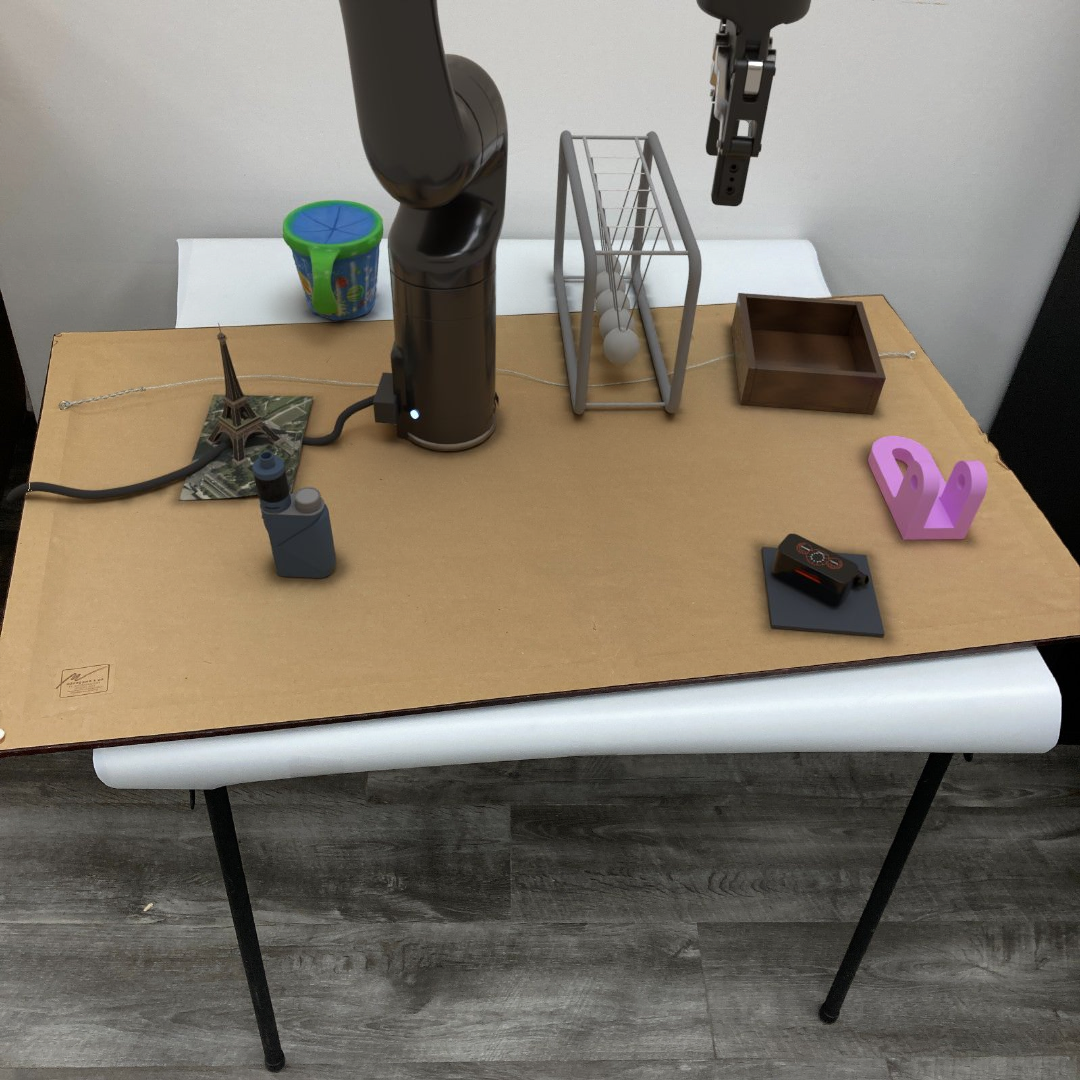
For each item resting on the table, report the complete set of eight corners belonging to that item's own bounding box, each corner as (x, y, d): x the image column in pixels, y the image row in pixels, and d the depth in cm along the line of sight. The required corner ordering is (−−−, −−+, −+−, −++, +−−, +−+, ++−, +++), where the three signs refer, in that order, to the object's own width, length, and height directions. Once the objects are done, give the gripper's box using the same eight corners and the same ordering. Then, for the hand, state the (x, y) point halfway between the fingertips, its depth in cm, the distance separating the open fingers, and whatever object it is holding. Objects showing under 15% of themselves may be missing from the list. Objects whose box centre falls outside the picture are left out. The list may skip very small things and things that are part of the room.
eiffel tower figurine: (294, 499, 87) (271, 375, 78) (178, 500, 87) (141, 375, 78) (313, 399, 98) (295, 279, 89) (211, 399, 98) (181, 279, 88)
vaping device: (277, 555, 82) (253, 443, 74) (339, 558, 82) (322, 447, 74) (270, 577, 81) (245, 465, 72) (334, 580, 81) (316, 469, 72)
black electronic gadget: (845, 617, 79) (856, 590, 77) (767, 576, 82) (775, 549, 80) (869, 585, 82) (879, 557, 80) (792, 546, 85) (800, 519, 83)
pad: (771, 628, 79) (772, 624, 78) (761, 549, 85) (762, 546, 85) (883, 637, 78) (884, 633, 78) (865, 557, 85) (866, 554, 85)
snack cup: (369, 348, 105) (360, 262, 98) (274, 337, 106) (258, 250, 99) (404, 276, 116) (399, 194, 109) (318, 267, 117) (307, 184, 110)
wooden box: (740, 404, 100) (748, 367, 97) (731, 327, 111) (738, 292, 108) (873, 414, 100) (886, 377, 97) (851, 336, 110) (862, 301, 107)
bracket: (964, 539, 87) (992, 479, 82) (903, 539, 87) (927, 480, 82) (916, 447, 96) (939, 388, 91) (861, 447, 96) (881, 388, 91)
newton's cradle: (552, 271, 118) (559, 123, 106) (638, 271, 119) (655, 124, 107) (574, 423, 97) (586, 260, 85) (678, 422, 98) (705, 260, 85)
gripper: (700, -100, 67) (670, 137, 78) (711, -45, 57) (674, 218, 68) (810, -94, 67) (763, 143, 78) (840, -37, 57) (782, 226, 68)
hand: (722, 178), depth 73 cm, fingers open, 8 cm apart
